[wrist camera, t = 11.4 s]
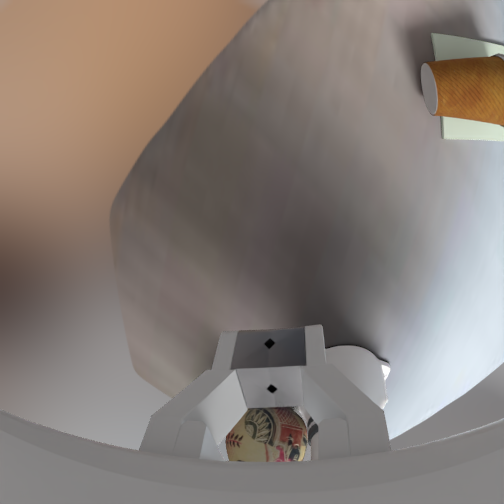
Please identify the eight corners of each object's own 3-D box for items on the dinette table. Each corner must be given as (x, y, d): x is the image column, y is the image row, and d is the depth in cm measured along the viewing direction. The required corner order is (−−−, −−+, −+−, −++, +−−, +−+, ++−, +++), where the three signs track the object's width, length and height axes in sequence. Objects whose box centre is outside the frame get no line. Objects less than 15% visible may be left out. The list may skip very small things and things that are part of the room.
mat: (525, 142, 31) (527, 143, 30) (442, 138, 33) (444, 139, 33) (518, 51, 24) (521, 50, 24) (430, 33, 27) (432, 32, 26)
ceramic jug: (323, 409, 58) (323, 546, 32) (267, 432, 64) (253, 551, 38) (266, 369, 54) (246, 532, 27) (211, 398, 60) (177, 531, 33)
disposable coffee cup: (429, 138, 33) (507, 137, 29) (448, 114, 24) (540, 118, 20) (412, 70, 32) (488, 72, 28) (423, 33, 23) (513, 41, 19)
